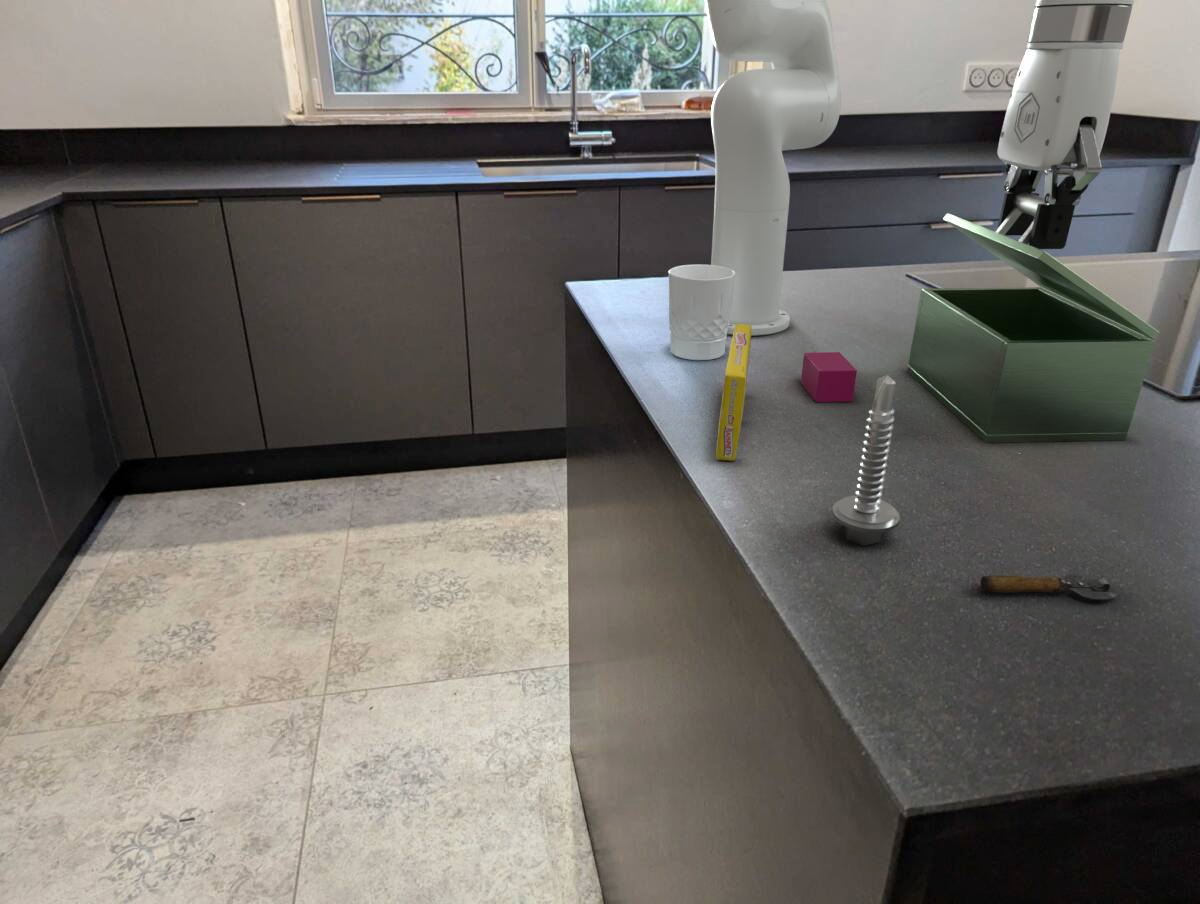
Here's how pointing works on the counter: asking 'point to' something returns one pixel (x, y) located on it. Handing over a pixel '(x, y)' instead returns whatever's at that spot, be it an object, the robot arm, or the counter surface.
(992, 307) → the bin
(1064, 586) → the can opener
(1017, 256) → the bin lid
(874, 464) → the screw
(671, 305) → the white cup
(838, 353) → the block
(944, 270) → the counter surface
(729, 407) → the candy box
